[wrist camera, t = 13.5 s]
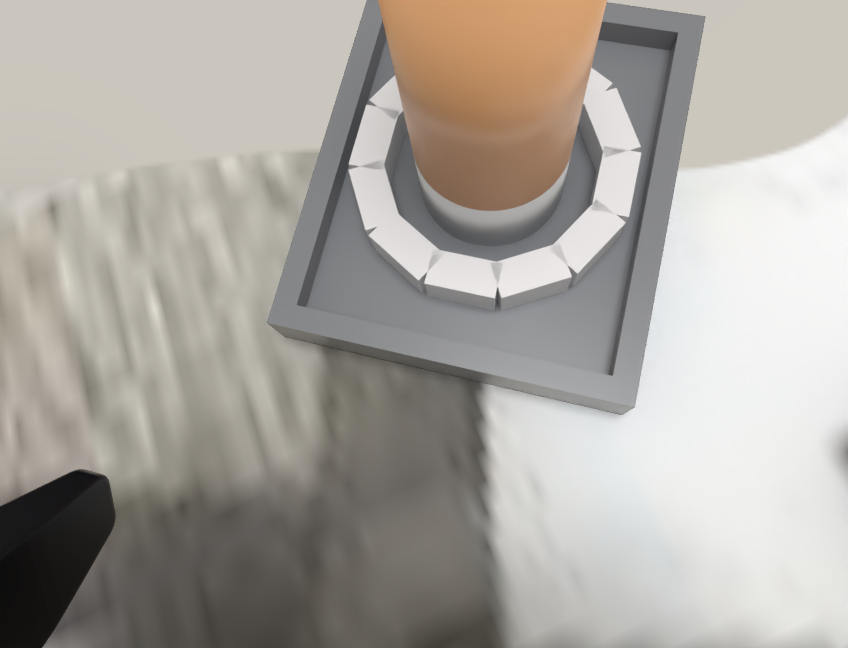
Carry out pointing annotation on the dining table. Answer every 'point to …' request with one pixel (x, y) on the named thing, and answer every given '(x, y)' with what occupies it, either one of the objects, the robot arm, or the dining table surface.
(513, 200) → the peach bulb knob
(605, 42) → the housing
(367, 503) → the dining table surface
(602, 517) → the dining table surface
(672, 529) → the dining table surface
